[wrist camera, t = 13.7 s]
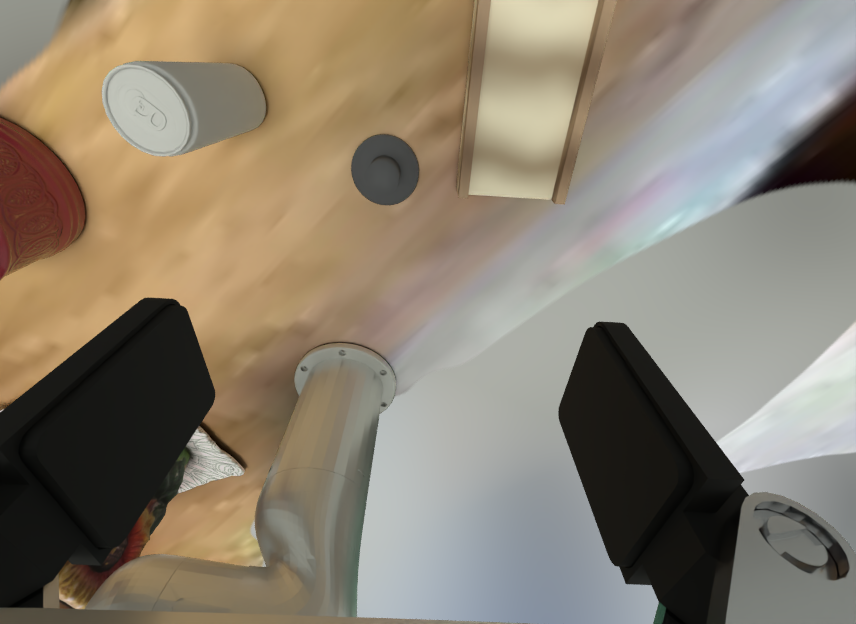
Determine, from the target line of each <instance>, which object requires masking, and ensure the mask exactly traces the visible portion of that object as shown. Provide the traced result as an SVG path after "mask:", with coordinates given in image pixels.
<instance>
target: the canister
mask: <svg viewBox="0 0 856 624" xmlns="http://www.w3.org/2000/svg"><path fill="white" fill-rule="evenodd" d="M84 223H85V207H84V202H83V199H82V196H81V193H80V191H79V188H78V186H77V184H76V183H75V181H74V179H73V177H72V176H71V174H70V173H69V171H68V170H67V169H66V167H65V166H64V165H63V163H62V162H61V161H60V160H59V159H58V158H57V157H56V156H55V154H54V153H53V152H52V151H51V150H50V149H49V148H47V147H46V146H45V145H44V144H43V143H42V142H40V141H39V140H38V139H37V138H35V137H34V136H33V135H31V134H30V133H28V132H27V131H25V130H24V129H22V128H21V127H19V126H17V125H15V124H13V123H12V122H10V121H7V120H5V119H3V118H1V117H0V280H1V279H2V278H3V277H5V276H7V275H9V274H11V273H13V272H15V271H17V270H19V269H21V268H23V267H25V266H27V265H29V264H31V263H33V262H35V261H37V260H40V259H44V258H48V257H50V256H53V255H55V254H56V253H58V252H61V251H62V250H64V249H65V248H67V247H68V246H69V245H70V244H71V243H72V242H73V241H74V240H75V239H76V238H77V237H78V236H79V235H80V233H81V232H82V230H83V227H84Z"/></svg>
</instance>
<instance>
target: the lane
mask: <svg viewBox="0 0 856 624" xmlns="http://www.w3.org/2000/svg"><path fill="white" fill-rule="evenodd" d="M616 3H617V0H474V9H473V19H472V30H471V40H470V50H469V61H468V71H467V81H466V91H465V102H464V112H463V122H462V132H461V143H460V153H459V163H458V173H457V184H456V188H457V193H458V197H459V198H468V195H484V196H500V197H516V198H533V199H549V200H552V201H553V202H554V203H555V204H565V200H566V196H567V193H568V189H569V185H570V181H571V177H572V173H573V169H574V165H575V162H576V158H577V154H578V150H579V146H580V142H581V138H582V134H583V131H584V127H585V123H586V119H587V115H588V111H589V107H590V103H591V99H592V96H593V92H594V88H595V84H596V80H597V76H598V72H599V68H600V65H601V61H602V57H603V53H604V49H605V45H606V41H607V37H608V34H609V30H610V26H611V22H612V18H613V14H614V10H615V6H616Z"/></svg>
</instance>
